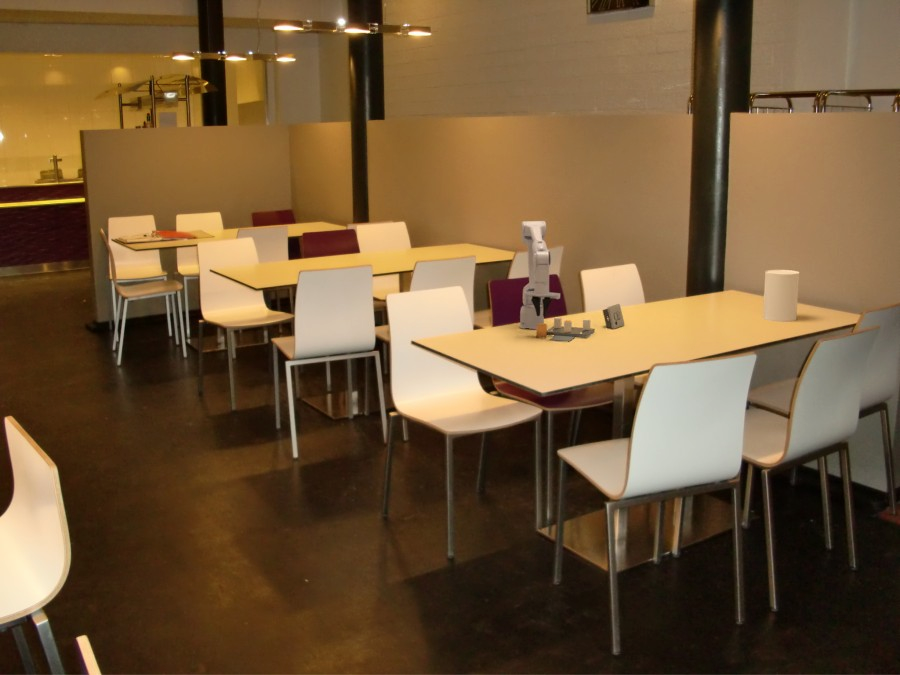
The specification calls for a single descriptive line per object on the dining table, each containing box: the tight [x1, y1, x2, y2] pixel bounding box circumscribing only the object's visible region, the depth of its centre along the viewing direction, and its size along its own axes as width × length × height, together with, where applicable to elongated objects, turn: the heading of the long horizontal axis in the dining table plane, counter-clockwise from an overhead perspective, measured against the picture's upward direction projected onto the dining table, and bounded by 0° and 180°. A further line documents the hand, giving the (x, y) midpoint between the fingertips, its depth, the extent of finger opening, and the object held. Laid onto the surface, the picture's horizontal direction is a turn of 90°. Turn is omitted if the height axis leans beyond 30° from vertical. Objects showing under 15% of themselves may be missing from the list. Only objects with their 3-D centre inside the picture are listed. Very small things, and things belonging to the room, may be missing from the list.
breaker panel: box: [547, 325, 596, 339], centre depth 366 cm, size 17×12×2 cm
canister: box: [762, 269, 800, 323], centre depth 388 cm, size 14×14×20 cm
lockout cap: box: [536, 323, 548, 338], centre depth 362 cm, size 4×4×5 cm
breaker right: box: [582, 318, 591, 330], centre depth 366 cm, size 2×2×4 cm
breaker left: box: [553, 316, 563, 328], centre depth 371 cm, size 2×2×4 cm
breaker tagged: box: [563, 319, 573, 332], centre depth 363 cm, size 2×2×4 cm
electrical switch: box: [602, 303, 625, 330], centre depth 378 cm, size 9×5×9 cm, turn 141°
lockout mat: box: [548, 335, 576, 343], centre depth 357 cm, size 8×8×1 cm
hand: (541, 315), depth 360 cm, fingers closed
